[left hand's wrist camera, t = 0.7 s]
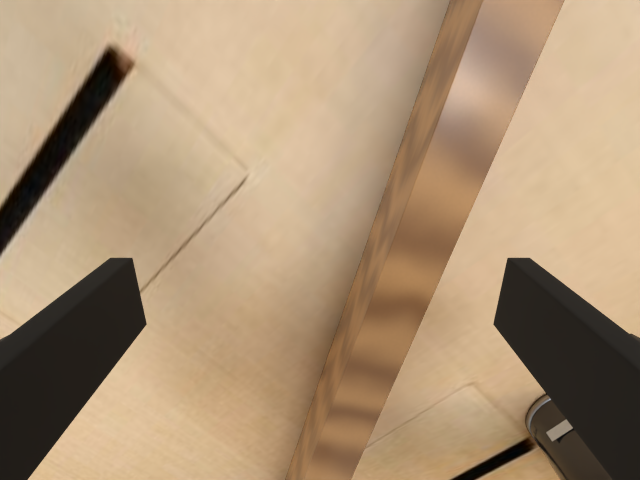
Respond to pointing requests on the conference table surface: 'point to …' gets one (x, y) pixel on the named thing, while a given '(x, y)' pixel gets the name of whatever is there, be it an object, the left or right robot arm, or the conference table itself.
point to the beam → (421, 218)
